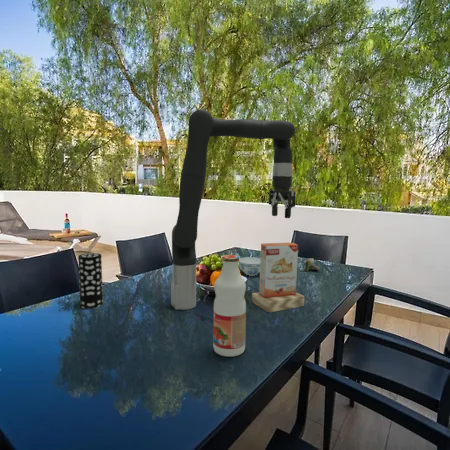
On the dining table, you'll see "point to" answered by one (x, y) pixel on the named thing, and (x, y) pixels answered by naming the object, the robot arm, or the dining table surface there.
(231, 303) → the fruit juice
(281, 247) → the cracker box
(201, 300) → the dining table surface
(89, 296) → the white-spotted black cylinder
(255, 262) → the chinaware
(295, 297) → the birch plinth
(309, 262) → the artificial flower
